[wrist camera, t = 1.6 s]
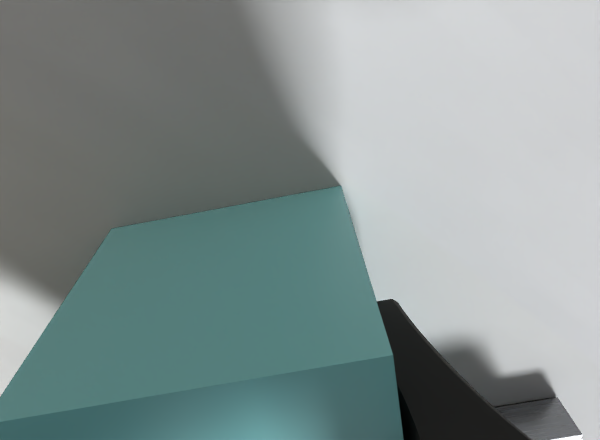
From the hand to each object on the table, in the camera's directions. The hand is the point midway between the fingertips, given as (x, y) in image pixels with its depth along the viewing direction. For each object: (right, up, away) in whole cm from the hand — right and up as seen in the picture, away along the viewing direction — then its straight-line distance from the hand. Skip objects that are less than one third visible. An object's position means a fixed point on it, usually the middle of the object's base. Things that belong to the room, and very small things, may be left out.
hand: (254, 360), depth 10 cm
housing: (0, +1, +1) cm, 2 cm away
